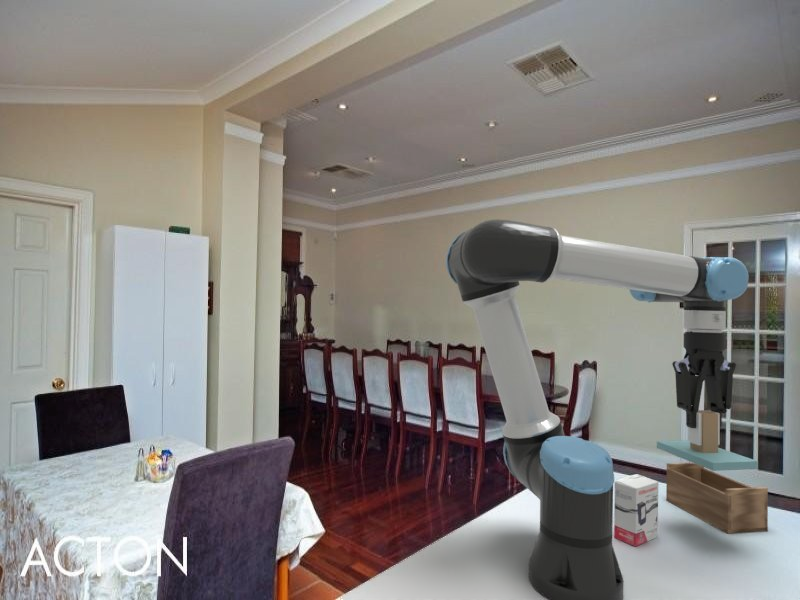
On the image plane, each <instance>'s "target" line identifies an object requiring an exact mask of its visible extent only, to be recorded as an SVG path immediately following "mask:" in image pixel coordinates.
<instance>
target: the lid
mask: <svg viewBox="0 0 800 600" xmlns="http://www.w3.org/2000/svg"><path fill="white" fill-rule="evenodd" d="M709 411H710V410H706V409H705V410H704V409H703V410H702V409H701V410H700V409H699V410H698V413H702V445H696V444H693V443H690V442H688V439H687V440H686V439H684V440H683V439H682V440H657V441H656V449H658V450H661V451H663V452H666V453H668V454H671V455H674V456H676V457H677V458H680V459H683V460H686V461H687V462H689V463H695V464H698V465H700V466H703V467H704V468H705V469H708V470H710V471H713V472H716V471H717V472H718V471H719V472H720V471H738V470H739V471H741V470H758V469H759V461H758V460H756V459H753V458H750V457H747V456H743V455H740V454H738V453H735V452H733V451H729V450H727V449H723V448H720V447H719V445H718V414H717V413H713V412H709Z"/></svg>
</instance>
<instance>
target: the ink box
mask: <svg viewBox="0 0 800 600" xmlns="http://www.w3.org/2000/svg"><path fill="white" fill-rule="evenodd" d="M613 507H614V508H613V511H614V513H613V514H614V517H613V519H614V522H613V524H614V525H613V526H614V529H613V530H614V531H613V532H614V533H613V534H614V536H613V537H614V539H617V540H618V541H621V542H624V543H625V544H629V545H631V546H633V547H638V546H640V545H642V544H645V543H646V542H649V541H652V540H654V539H656V538H658V537H659V536H658V535H659V529H658V528H659V481H657V480H655V479H652V478H649V477H646V476H644V475H641V474H638V473H636V474H632V475H628V476H624V477H621V478H619V479H616V480H614V503H613Z"/></svg>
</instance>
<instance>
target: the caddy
mask: <svg viewBox="0 0 800 600" xmlns="http://www.w3.org/2000/svg"><path fill="white" fill-rule="evenodd" d="M665 486H666V492H665V493H666V496H665V497H666V502H669V503H671V504H672V505H674V506H676V507H678V508H679V509H681V510H683V511H685V512H687V513H689V514H690V515H692V516H695V517H696V518H698V519H700V520H702V521H703V522H705V523H707V524H709V525H711V526H712V527H715V528H716V529H718V530H720V531H722V532H723V533H726V534H728V535H729V534H743V533H744V534H747V533H761V532H768V531H769V530H768V529H769V526H768V525H769V523H768V522H769V521H768V519H769V518H768V516H769V515H768V513H769V512H768V511H769V510H768V509H769V505H768V504H769V502H768V501H769V499H768V497H769V493H768V492H769V488H768V487H766V486H759V487H758V486H756V487H752V486H749V485H746V484H745V483H742V482H739V481H737V480H735V479H732V478H731V477H730V478H729V477H727V476H725V475H722V474H720V473H718V472H716V471H712V470H710V469H707V468H705V467H703V466H700V465H698V464H695V463H693V462H672V463H671V462H670V463H666V485H665Z"/></svg>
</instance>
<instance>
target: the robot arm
mask: <svg viewBox="0 0 800 600" xmlns="http://www.w3.org/2000/svg"><path fill="white" fill-rule="evenodd" d="M559 233H560V232H558V230H557V229H556V228H555V227H550V226H545V225H537V224H533V223H529V222H528V223H527V222H521V221H516V220H515V221H514V220H510V219H500V218H499V219H489V220H484V221H482V222H479V223H478V224H476V225H474V226H473V227H471V228H470V229H467V230H466V231H463V232H462V233H459V235H458V236H457V237H455V239H454V240H453V241H452V242H451V244H450V246H449V248H448V250H447V253H446V258H445V266H446V271H447V273H448V275H449V277H450V279H451V280H452V281H453V282H454V283H455V284H456V285H457V287H458V288H457V289H458V291H459V294H460V297H461V300H462V303H463V304H465V305H466V306H468V307H470V308H471V309H472V310H473V313H474V314H473V315H474V317H475V321H476V324H477V328H478V331H479V334H480V337H481V341H482V343H483V344H482V345H483V346H484V348H483V349H484V350H485V354H486V357H487V361H488V364H489V367H490V370H491V374H492V378H493V381H494V383H495V388H496V390H497V393H498V398H499V400H500V403H501V407H502V410H503V414H504V417H505V421H506V422H505V424H504V426H503V427H502V429H501V434H502V437H503V440H504V442H503V451H502V455H503V459H504V462H505V465H506V467H507V469H508V470H509V472H510V474H511V475H512V476H513V477H514V478H515V479H516V480H517V482H519V483H520V484H521V485H523V486H524V487H525V488H526V489H528V491H530V492H531V493H532V494H533V495H534V496H536V497H537V499H538V500H539V505H540V506H539V532H538V535H537V538H536V540H535V543H534V546H533V549H532V552H531V555H530V557H529V559H528V580H529V582H530V584H531V585H532V586H533V588H534V589H535V590H536V591H538V593H540V594H541V595H542V596H544V597H546V598H547V599H549V600H623V598H624V577H623V574H622V570H621V568H620V565H619V562H618V559H617V555H616V552H615V548H614V545H613V526H614V525H613V524H614V522H613V519H614V517H613V514H614V513H613V511H614V508H613V507H614V484H615V473H614V464H613V459H612V457H611V455H610V453H609V452H608V451H607V450H606V449H605V448H604V447H602V446H601V445H599V444H598V443H595V442H593V441H590V440H585V439H583V438H582V437H578V436H577V437H576V436H572V435H571V436H569V435H565V432H564V429H563V425H562V422H561V419H560V417H559V416H558V415H557V414H554V413H553V412H551V411H550V409H549V407H548V403H547V398H546V397H545V396H546V395H545V393H544V392H545V391H544V390H543V387H542V383H541V379H540V376H539V372H538V370H537V366H536V363H535V359H534V357H533V353H532V350H531V346H530V343H529V339H528V337H527V332H526V329H525V325H524V322H523V320H522V315H521V313H520V310H519V309H520V308H519V305H518V303H517V300H516V299H517V298H516V295H517V292H518V291H519V289H520V287H521V286H520V282H534V283H541V284H542V283H543V284H544V283H547V282H548V281H550V280H551V279H554V280H562V281H568V282H576V283H583V284H588V285H589V284H590V285H596V286H605V287H610V288H611V287H612V288H618V289H624V290H625V289H626V290H629V293H630V295H631V297H632V298H633V299H635V300H636V301H638V302H646V303H683V328H682V329H684V330H686V331H685V332H684V333H683V348H684V350H685V354H684V356H683V358H682V359H681V360H679V361H676V360H674V361H672V363H671V365H672V368H673V369H674V372H675V373H674V374H675V390H676V391H675V393H676V406H677V408H678V409H681V410H683V411H685V415H686V416H685V417H686V418H685V425H686V427H687V428H688V439H687V440H688V442H690V443H693V444H696V445H702V413H698V410H700V409H699V408H700V404H701V403H700V402H701V396H702V389H703V383H704V382H705V387H706V395H707V401H708V408H709V410H708V411H709V412H713V413H717V414H718V446H720V445H721V444H720V442H721V441H720V440H721V439H720V434H721V433H720V429H721V428H722V425H723V423H722V422H723V421H722V420H723V419H722V415H723V414H727V412H728V410H731V408H732V399H733V397H732V396H733V383H734V382H733V381H734V372H735V370H736V368H737V367H736V366H737V364H736V362H733V361H728V360H726V358H725V356H724V353H723V352H724V351H726V348H727V346H726V345H727V342H726V341H727V337H726V336H727V335H726V334H725V333H724V332H723V331H725V330H726V329H727V326H726V325H727V322H726V321H727V319H726V317H727V314H726V313H727V312H726V310H727V308H726V307H727V305H726V304H727V301H730V300H736V299H737V298H739V297H740V296H742V295H743V294H744V293H745V292H746V290H747V288H748V285H749V275H750V274H749V272H748V269H747V266H746V265H745V264H744V263H743V262H742V261H741V260H739V259H737V258H735V257H730V256H728V257H726V256H725V257H722V256H710V257H709V256H708V257H706V256H705V257H704V256H703V257H702V256H701V257H699V256H691V255H684V254H679V253H673V252H668V251H661V250H654V249H649V248H648V249H647V248H643V247H642V248H641V247H635V246H629V245H622V244H617V243H611V242H606V241H599V240H592V239H586V238H580V237H575V236H569V235H561V234H559Z"/></svg>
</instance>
